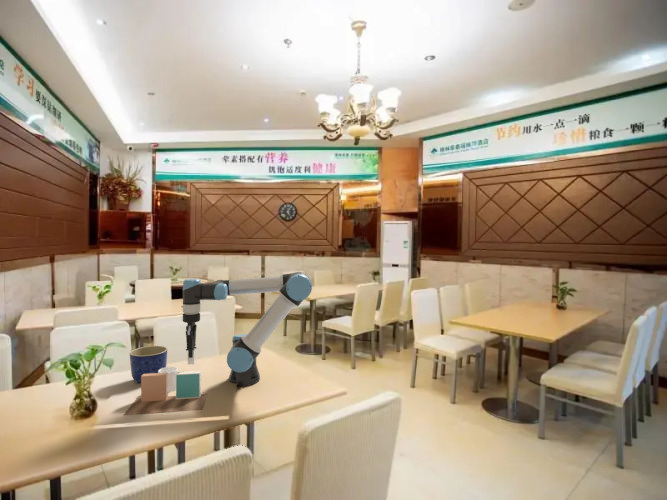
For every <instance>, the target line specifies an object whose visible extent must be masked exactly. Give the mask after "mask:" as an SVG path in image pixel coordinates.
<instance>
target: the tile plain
mask: <svg viewBox="0 0 667 500" xmlns="http://www.w3.org/2000/svg"><path fill="white" fill-rule="evenodd" d="M140 386H141V388H140V393H141V394H140V396H141V397H140V398H141V402H144V401H160V400H166V399H167V398H168V396H169V392H168V373H151V374H143V375H142V376H141V385H140Z"/></svg>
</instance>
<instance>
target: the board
mask: <svg viewBox="0 0 667 500" xmlns="http://www.w3.org/2000/svg"><path fill="white" fill-rule="evenodd" d="M208 395H209V393H201V396H200V398H190V399H176V395H168V398H167V399H166V400H160V401H144V402H141V397H137V398H136V399H135V400H134V402H132V403H131V405H130V406H129V407H128V409H127V410H126V411H125V412H124V413H123V416H132V415H146V414H147V415H149V414H161V413H176V412H189V411H190V412H191V411H192V412H193V411H202V410H203V409H204V406H205V403H206V402H207V401H206V400H207V398H208Z"/></svg>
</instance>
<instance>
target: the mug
mask: <svg viewBox="0 0 667 500" xmlns="http://www.w3.org/2000/svg"><path fill="white" fill-rule="evenodd" d="M177 372H179V369H178V367H177V366H166V367H165V368H162V369H160V370H158V373H168V393H172V392H174V391H175V392H176V373H177Z"/></svg>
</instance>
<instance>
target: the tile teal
mask: <svg viewBox="0 0 667 500" xmlns="http://www.w3.org/2000/svg"><path fill="white" fill-rule="evenodd" d="M201 394H202V371H201V370H194V371H192V370H191V371H178V372H177V373H176V390H175V396H176V399H190V398H200V396H201Z"/></svg>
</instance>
